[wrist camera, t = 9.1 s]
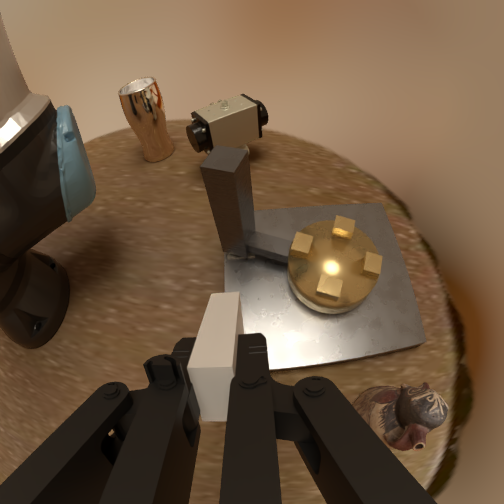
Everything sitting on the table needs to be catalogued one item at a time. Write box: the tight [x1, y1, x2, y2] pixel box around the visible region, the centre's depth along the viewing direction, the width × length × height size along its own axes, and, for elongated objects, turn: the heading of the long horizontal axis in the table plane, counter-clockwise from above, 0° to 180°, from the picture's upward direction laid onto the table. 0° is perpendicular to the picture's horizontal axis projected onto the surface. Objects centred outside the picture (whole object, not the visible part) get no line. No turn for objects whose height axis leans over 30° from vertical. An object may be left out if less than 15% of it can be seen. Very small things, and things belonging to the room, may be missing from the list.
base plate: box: [224, 203, 426, 372], centre depth 32 cm, size 22×20×2 cm
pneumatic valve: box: [186, 94, 268, 155], centre depth 40 cm, size 6×12×12 cm, turn 123°
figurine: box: [353, 383, 448, 451], centre depth 18 cm, size 7×7×12 cm
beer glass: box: [118, 77, 174, 162], centre depth 42 cm, size 7×7×15 cm
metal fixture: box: [200, 145, 383, 314], centre depth 26 cm, size 18×10×13 cm, turn 69°
